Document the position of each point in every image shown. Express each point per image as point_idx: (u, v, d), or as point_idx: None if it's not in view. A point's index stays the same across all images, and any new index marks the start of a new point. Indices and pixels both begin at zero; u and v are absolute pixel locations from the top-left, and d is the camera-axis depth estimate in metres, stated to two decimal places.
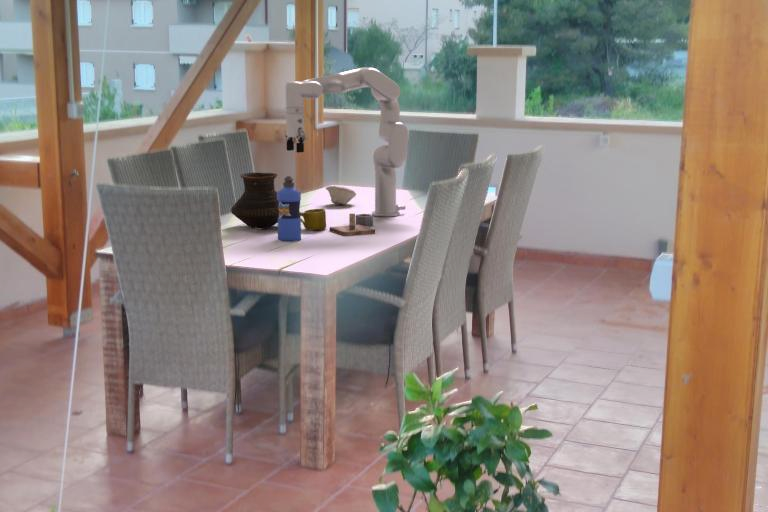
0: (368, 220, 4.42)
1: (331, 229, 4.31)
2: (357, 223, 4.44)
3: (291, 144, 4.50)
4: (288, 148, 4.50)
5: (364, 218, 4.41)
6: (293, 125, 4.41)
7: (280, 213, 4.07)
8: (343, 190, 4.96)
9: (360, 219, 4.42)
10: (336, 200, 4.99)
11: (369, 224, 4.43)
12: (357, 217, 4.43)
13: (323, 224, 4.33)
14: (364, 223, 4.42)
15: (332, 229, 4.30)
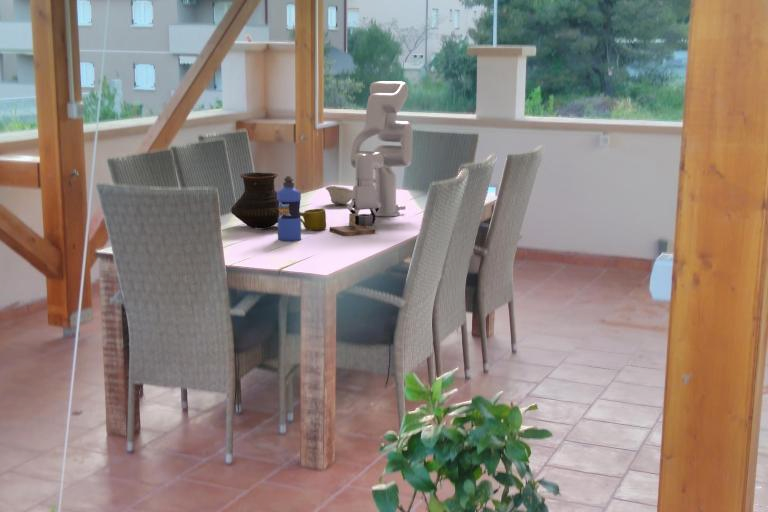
0: (368, 220, 4.42)
1: (331, 229, 4.31)
2: None
3: None
4: None
5: (364, 218, 4.41)
6: (373, 196, 4.43)
7: (280, 213, 4.07)
8: (343, 190, 4.96)
9: (360, 219, 4.42)
10: (336, 200, 4.99)
11: (369, 224, 4.43)
12: None
13: (323, 224, 4.33)
14: (364, 223, 4.42)
15: (332, 229, 4.30)
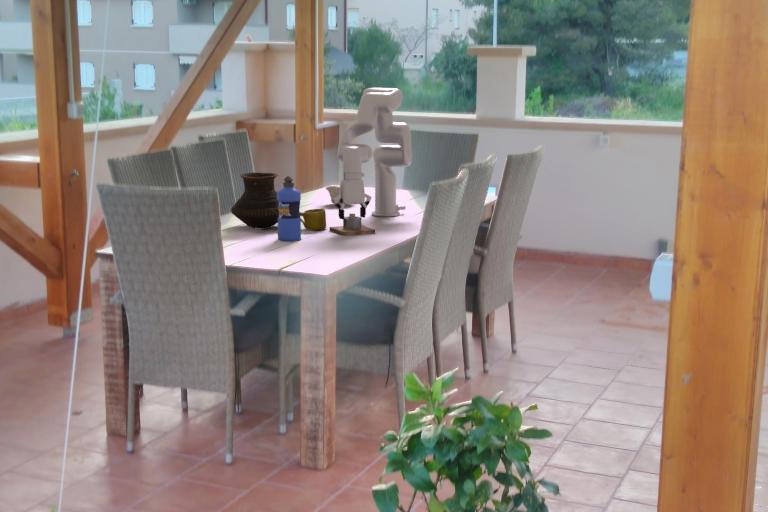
0: (356, 223, 4.26)
1: (331, 229, 4.31)
2: (345, 226, 4.27)
3: None
4: None
5: (352, 221, 4.25)
6: (361, 190, 4.26)
7: (280, 213, 4.07)
8: None
9: (348, 222, 4.26)
10: None
11: (357, 227, 4.27)
12: (345, 220, 4.27)
13: (323, 224, 4.33)
14: (352, 226, 4.26)
15: (332, 229, 4.30)
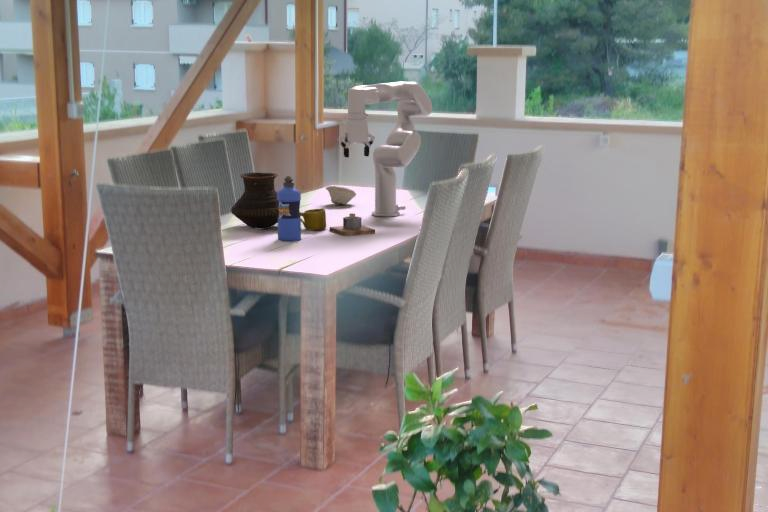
0: (356, 223, 4.26)
1: (331, 229, 4.31)
2: (345, 226, 4.27)
3: None
4: None
5: (352, 221, 4.25)
6: (365, 130, 4.48)
7: (280, 213, 4.07)
8: (343, 190, 4.96)
9: (348, 222, 4.26)
10: (336, 200, 4.99)
11: (357, 227, 4.27)
12: (345, 220, 4.27)
13: (323, 224, 4.33)
14: (352, 226, 4.26)
15: (332, 229, 4.30)
